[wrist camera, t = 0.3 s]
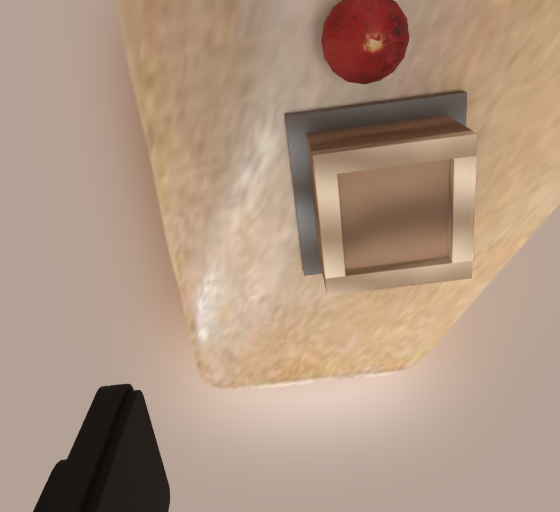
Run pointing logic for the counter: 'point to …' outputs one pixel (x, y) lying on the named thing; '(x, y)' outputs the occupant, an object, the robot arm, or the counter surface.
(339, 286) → the open square box
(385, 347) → the counter surface
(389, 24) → the pomegranate
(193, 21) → the counter surface
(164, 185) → the counter surface
